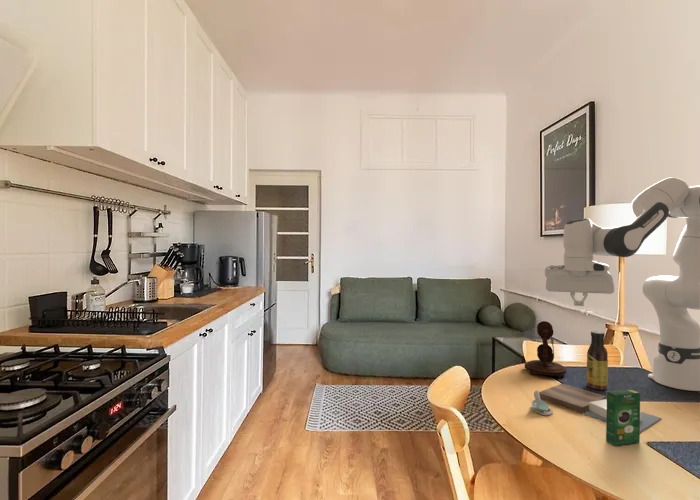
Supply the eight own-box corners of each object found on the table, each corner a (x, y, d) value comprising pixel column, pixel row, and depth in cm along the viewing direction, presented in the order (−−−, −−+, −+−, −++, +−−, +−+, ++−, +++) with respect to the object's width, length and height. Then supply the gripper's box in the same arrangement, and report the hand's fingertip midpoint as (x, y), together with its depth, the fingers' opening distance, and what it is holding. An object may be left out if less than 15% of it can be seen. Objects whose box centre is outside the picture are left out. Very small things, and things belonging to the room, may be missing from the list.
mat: (607, 402, 122) (607, 401, 122) (661, 419, 111) (661, 417, 111) (583, 414, 114) (583, 413, 114) (639, 433, 102) (639, 431, 102)
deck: (562, 389, 134) (562, 383, 134) (606, 402, 123) (606, 396, 122) (537, 398, 126) (537, 392, 126) (582, 413, 114) (582, 407, 114)
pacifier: (553, 410, 118) (532, 405, 121) (554, 389, 118) (533, 385, 121) (551, 419, 112) (529, 413, 115) (552, 397, 111) (530, 393, 115)
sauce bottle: (585, 383, 140) (585, 329, 140) (606, 385, 137) (606, 330, 137) (588, 389, 134) (588, 332, 134) (609, 392, 131) (609, 334, 131)
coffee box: (630, 437, 100) (630, 387, 100) (641, 443, 97) (641, 391, 97) (605, 441, 98) (605, 390, 98) (615, 447, 95) (615, 394, 95)
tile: (608, 406, 118) (608, 398, 118) (641, 420, 109) (641, 411, 109) (588, 410, 116) (588, 402, 116) (621, 424, 106) (621, 415, 106)
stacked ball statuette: (567, 381, 142) (567, 327, 142) (524, 376, 148) (524, 324, 148) (564, 370, 155) (564, 320, 155) (524, 365, 162) (524, 318, 161)
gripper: (543, 265, 135) (544, 304, 135) (614, 266, 124) (614, 308, 124) (545, 264, 140) (546, 302, 140) (613, 265, 129) (614, 306, 129)
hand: (579, 305), depth 132 cm, fingers closed
